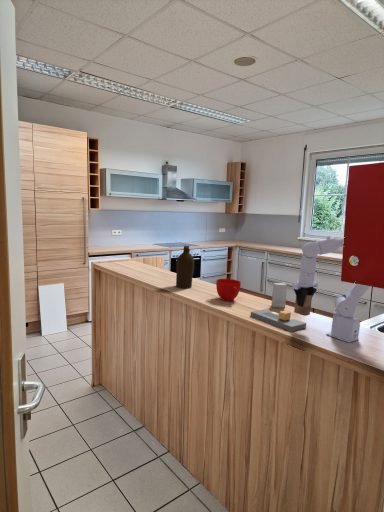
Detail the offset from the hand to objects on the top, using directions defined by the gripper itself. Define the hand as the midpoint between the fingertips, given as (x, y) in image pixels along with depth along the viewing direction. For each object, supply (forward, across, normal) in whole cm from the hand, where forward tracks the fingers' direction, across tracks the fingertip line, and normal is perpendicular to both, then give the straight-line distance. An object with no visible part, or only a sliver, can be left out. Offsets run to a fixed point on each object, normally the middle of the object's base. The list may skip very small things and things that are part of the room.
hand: (303, 305), depth 133 cm
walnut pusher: (+3, 0, 0) cm, 4 cm away
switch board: (+10, 0, -12) cm, 16 cm away
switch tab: (+8, 0, -8) cm, 11 cm away
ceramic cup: (+11, -4, -48) cm, 49 cm away
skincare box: (+11, -21, -28) cm, 36 cm away
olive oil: (+11, 0, -82) cm, 83 cm away
